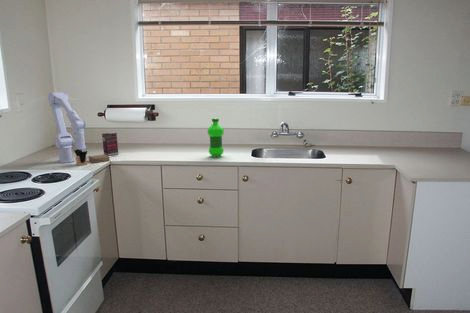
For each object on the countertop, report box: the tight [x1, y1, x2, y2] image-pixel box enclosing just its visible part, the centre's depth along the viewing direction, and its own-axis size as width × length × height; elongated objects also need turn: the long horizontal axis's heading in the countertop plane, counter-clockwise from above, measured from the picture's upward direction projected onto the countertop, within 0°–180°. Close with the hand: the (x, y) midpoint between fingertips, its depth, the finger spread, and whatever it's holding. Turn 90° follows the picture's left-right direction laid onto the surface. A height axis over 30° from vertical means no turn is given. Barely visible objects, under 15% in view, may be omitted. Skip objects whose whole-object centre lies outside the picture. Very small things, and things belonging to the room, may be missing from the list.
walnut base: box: [88, 153, 110, 164], centre depth 249 cm, size 10×10×3 cm
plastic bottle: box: [207, 117, 225, 158], centre depth 255 cm, size 10×10×25 cm
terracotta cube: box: [75, 155, 88, 167], centre depth 238 cm, size 5×5×5 cm
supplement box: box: [101, 131, 119, 157], centre depth 264 cm, size 9×5×16 cm, turn 134°
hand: (81, 161), depth 238 cm, fingers closed on terracotta cube, 5 cm apart
